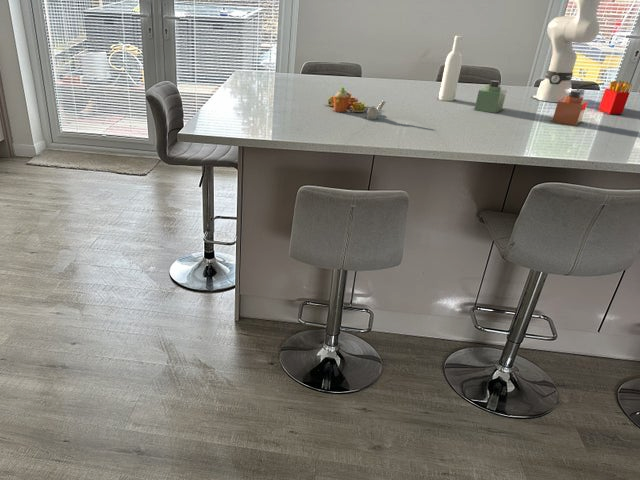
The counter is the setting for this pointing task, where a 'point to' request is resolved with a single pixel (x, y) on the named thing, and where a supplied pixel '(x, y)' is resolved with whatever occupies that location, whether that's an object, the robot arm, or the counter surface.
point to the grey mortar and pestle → (374, 111)
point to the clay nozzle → (575, 94)
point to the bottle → (451, 72)
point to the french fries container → (615, 98)
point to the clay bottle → (569, 110)
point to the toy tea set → (345, 102)
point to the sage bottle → (490, 99)
